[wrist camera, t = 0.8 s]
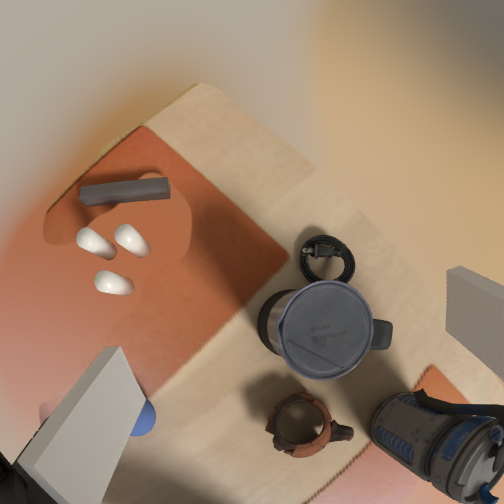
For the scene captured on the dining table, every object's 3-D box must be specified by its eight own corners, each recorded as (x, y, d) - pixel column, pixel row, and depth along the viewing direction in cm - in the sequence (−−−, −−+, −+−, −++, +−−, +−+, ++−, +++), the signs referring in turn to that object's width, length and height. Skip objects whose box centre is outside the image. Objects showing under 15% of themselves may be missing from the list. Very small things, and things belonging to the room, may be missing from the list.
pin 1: (117, 259, 38) (93, 247, 30) (101, 260, 38) (75, 248, 30) (117, 242, 39) (94, 226, 30) (101, 243, 38) (76, 228, 30)
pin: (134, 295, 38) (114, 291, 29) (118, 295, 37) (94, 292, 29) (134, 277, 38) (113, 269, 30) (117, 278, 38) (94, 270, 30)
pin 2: (151, 257, 39) (134, 244, 31) (134, 258, 39) (114, 245, 30) (150, 240, 39) (134, 223, 31) (134, 241, 39) (114, 224, 31)
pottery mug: (263, 454, 36) (260, 454, 30) (272, 396, 42) (270, 384, 35) (345, 458, 34) (358, 458, 28) (349, 400, 40) (362, 388, 34)
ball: (162, 427, 35) (154, 444, 29) (122, 425, 34) (109, 441, 28) (156, 388, 36) (146, 400, 30) (115, 387, 35) (100, 398, 29)
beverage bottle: (419, 370, 40) (542, 394, 16) (414, 439, 38) (516, 489, 13) (368, 384, 39) (493, 433, 15) (364, 456, 37) (460, 533, 12)
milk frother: (261, 362, 38) (285, 391, 24) (243, 246, 41) (258, 213, 26) (357, 341, 40) (418, 353, 26) (340, 235, 43) (393, 201, 28)
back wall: (170, 198, 41) (166, 190, 38) (87, 206, 39) (79, 199, 36) (170, 185, 41) (167, 177, 38) (88, 194, 39) (80, 186, 37)
